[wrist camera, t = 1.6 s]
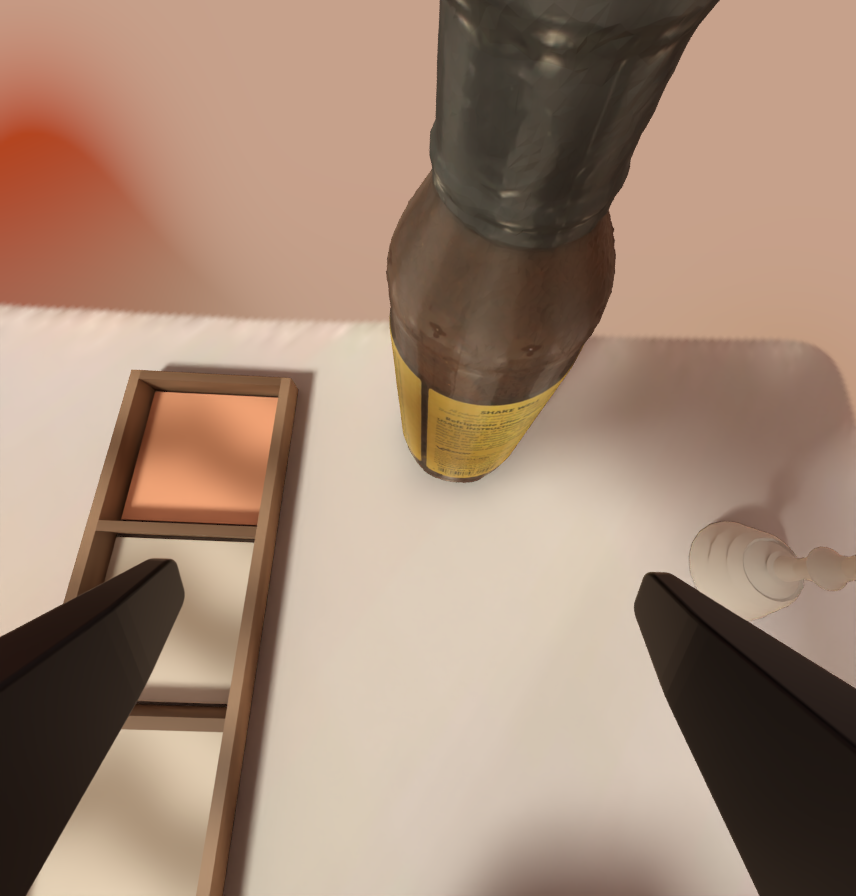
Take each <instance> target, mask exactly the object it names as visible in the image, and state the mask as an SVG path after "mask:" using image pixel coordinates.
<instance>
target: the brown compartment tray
mask: <svg viewBox="0 0 856 896" xmlns="http://www.w3.org/2000/svg"><path fill="white" fill-rule="evenodd" d="M156 391H176V392H196V393H215V394H235V395H255V396H275V397H278V398H272V397H253V396H233V395H213V394H193V393H174V392H156ZM297 395H298V389H297V387H296V385H295V384H294V382H293V381H292V379H291V378H283V377H264V376H244V375H225V374H206V373H187V372H167V371H148V370H131V374H130V377H129V380H128V384H127V387H126V391H125V394H124V398H123V401H122V404H121V408H120V411H119V415H118V418H117V422H116V425H115V428H114V432H113V435H112V439H111V442H110V445H109V449H108V452H107V456H106V459H105V463H104V466H103V469H102V473H101V476H100V480H99V483H98V487H97V490H96V493H95V497H94V500H93V504H92V507H91V510H90V514H89V517H88V521H87V524H86V528H85V531H84V534H83V538H82V541H81V545H80V548H79V552H78V555H77V558H76V562H75V565H74V569H73V572H72V575H71V579H70V582H69V586H68V589H67V593H66V596H65V599H64V603H66V602H68V601H70V600H71V599H73V598H75V597H77V596H79V595H81V594H83V593H85V592H87V591H89V590H90V589H92V588H94V587H96V586H98V585H100V584H102V583H104V582H106V581H108V580H109V579H111V578H113V577H115V576H117V575H119V574H121V573H123V572H125V571H126V570H128V569H130V568H132V567H134V566H136V565H138V564H140V563H142V562H144V561H145V560H148V559H151V558H168V559H173V560H174V561H175V562H176V563H177V565H178V569H179V572H180V576H181V579H182V583H183V587H184V590H185V599H184V603H183V606H182V608H181V610H180V612H179V615H178V617H177V619H176V621H175V623H174V626H173V628H172V630H171V632H170V634H169V637H168V639H167V641H166V643H165V645H164V648H163V650H162V652H161V654H160V656H159V659H158V661H157V663H156V665H155V667H154V670H153V672H152V674H151V676H150V678H149V680H148V682H147V684H146V686H145V688H144V690H143V692H142V693H141V695H140V697H139V699H138V701H149V702H180V703H212V704H228V705H227V707H218V706H186V705H154V704H135V706H134V708H133V710H132V711H131V713H130V715H129V717H128V718H127V720H126V722H125V724H124V725H123V727H122V729H121V731H120V732H119V734H118V736H117V738H116V739H115V741H114V743H113V745H112V746H111V748H110V750H109V752H108V753H107V755H106V757H105V759H104V760H103V762H102V764H101V766H100V767H99V769H98V771H97V773H96V774H95V776H94V778H93V780H92V781H91V783H90V785H89V787H88V788H87V790H86V792H85V794H84V795H83V797H82V799H81V801H80V802H79V804H78V806H77V808H76V809H75V811H74V813H73V815H72V816H71V818H70V820H69V822H68V823H67V825H66V827H65V829H64V830H63V832H62V834H61V836H60V837H59V839H58V841H57V843H56V844H55V846H54V848H53V850H52V851H51V853H50V855H49V857H48V858H47V860H46V862H45V864H44V865H43V867H42V869H41V871H40V872H39V874H38V876H37V878H36V879H35V881H34V883H33V885H32V886H31V888H30V890H29V892H28V893H27V895H26V896H223V889H224V883H225V876H226V869H227V863H228V856H229V849H230V843H231V836H232V829H233V823H234V816H235V809H236V802H237V796H238V789H239V782H240V776H241V769H242V762H243V756H244V749H245V742H246V736H247V729H248V722H249V716H250V709H251V702H252V696H253V689H254V682H255V675H256V669H257V662H258V655H259V649H260V642H261V635H262V629H263V622H264V615H265V609H266V602H267V595H268V589H269V582H270V575H271V569H272V562H273V555H274V548H275V542H276V535H277V528H278V522H279V515H280V508H281V502H282V495H283V488H284V482H285V475H286V468H287V462H288V455H289V448H290V442H291V435H292V428H293V421H294V415H295V408H296V401H297ZM121 519H123V520H140V521H164V522H187V523H211V524H234V525H257V527H250V526H227V525H203V524H180V523H157V522H133V521H121ZM118 533H121V534H145V535H169V536H193V537H217V538H241V539H255V541H254V543H249V542H225V541H201V540H177V539H153V538H129V537H117V534H118ZM64 603H63V604H64Z"/></svg>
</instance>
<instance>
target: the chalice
mask: <svg viewBox="0 0 856 896" xmlns="http://www.w3.org/2000/svg"><path fill="white" fill-rule="evenodd" d="M689 561H690V572H691V575H692V577H693V580H694V583H695V585H696V588H697V589H698V591H700V592H701V593H703V594H705V595H706V596H708V597H709V598H711V599H713V600H714V601H716V602H717V603H719V604H721V605H722V606H724V607H725V608H727V609H729V610H730V611H732V612H733V613H735V614H737V615H738V616H740V617H741V618H743V619H745V620H747V621H751V620H755V619H759V618H763V617H765V616H766V615H768V614H769V613H773V612H776V611H778V610H779V609H781V608H785V607H788V606H789V605H790V604H791V603H793V602H794V601H795V600H796V599H797V597H798V596H799V594H800V592H801V590H802V588H803V585H804V579H805V580H809V581H813V582H814V583H815V584H817V585H818V586H819V587H821V588H822V589H825V590H827V591H838V590H841V589H842V588H843V587H845V586H846V584H847V582H850V581H853V580H855V581H856V555H854V556H851V557H847V556H842V555H840V554H839V553H837V552H836V551H834V550H833V549H830V548H827V547H818V548H815V549H813V550H812V551H811V552H810V553H809V555H808V557H804V558H801V559H799V558H798V557H797V556H796V555H795V554H794V552H793V551H792V550H791V549H790V548H789V547H788V546H787V544H785V543H784V542H783V541H781V540H780V539H779V538H777V537H776V536H774V535H771V534H769V533H766V532H762V531H759V530H757V529H754V528H752V527H747V526H745V525H742V524H740V523H737V522H727V521H722V522H718V523H714V524H710V525H709V526H707V527H706V528H704V529H703V530H701V531H700V532H699V533H698V535H697V537H696V538H695V540H694V541H693V543H692V546H691V551H690V555H689Z"/></svg>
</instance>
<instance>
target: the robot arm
mask: <svg viewBox="0 0 856 896" xmlns="http://www.w3.org/2000/svg"><path fill="white" fill-rule="evenodd" d="M184 599H185V590H184V587H183V583H182V579H181V576H180V572H179V569H178V565H177V563H176V562H175V561H174V560H173V559H168V558H151V559H148V560H145V561H144V562H142V563H140V564H138V565H136V566H134V567H132V568H130V569H128V570H126V571H125V572H123V573H121V574H119V575H117V576H115V577H113V578H111V579H109V580H108V581H106V582H104V583H102V584H100V585H98V586H96V587H94V588H92V589H90V590H89V591H87V592H85V593H83V594H81V595H79V596H77V597H75V598H73V599H71V600H70V601H68V602H66V603H64V604H62V605H60V606H58V607H56V608H54V609H53V610H51V611H49V612H47V613H45V614H43V615H41V616H39V617H37V618H35V619H34V620H32V621H30V622H28V623H26V624H24V625H22V626H20V627H18V628H16V629H15V630H13V631H11V632H9V633H7V634H5V635H3V636H1V637H0V896H26V895H27V893H28V892H29V890H30V888H31V886H32V885H33V883H34V881H35V879H36V878H37V876H38V874H39V872H40V871H41V869H42V867H43V865H44V864H45V862H46V860H47V858H48V857H49V855H50V853H51V851H52V850H53V848H54V846H55V844H56V843H57V841H58V839H59V837H60V836H61V834H62V832H63V830H64V829H65V827H66V825H67V823H68V822H69V820H70V818H71V816H72V815H73V813H74V811H75V809H76V808H77V806H78V804H79V802H80V801H81V799H82V797H83V795H84V794H85V792H86V790H87V788H88V787H89V785H90V783H91V781H92V780H93V778H94V776H95V774H96V773H97V771H98V769H99V767H100V766H101V764H102V762H103V760H104V759H105V757H106V755H107V753H108V752H109V750H110V748H111V746H112V745H113V743H114V741H115V739H116V738H117V736H118V734H119V732H120V731H121V729H122V727H123V725H124V724H125V722H126V720H127V718H128V717H129V715H130V713H131V711H132V710H133V708H134V706H135V704H136V703H137V701H138V699H139V697H140V695H141V693H142V692H143V690H144V688H145V686H146V684H147V682H148V680H149V678H150V676H151V674H152V672H153V670H154V667H155V665H156V663H157V661H158V659H159V656H160V654H161V652H162V650H163V648H164V645H165V643H166V641H167V639H168V637H169V634H170V632H171V630H172V628H173V626H174V623H175V621H176V619H177V617H178V615H179V612H180V610H181V608H182V606H183V603H184ZM634 612H635V616H636V619H637V622H638V625H639V627H640V630H641V633H642V636H643V638H644V641H645V644H646V647H647V649H648V652H649V655H650V658H651V660H652V663H653V666H654V668H655V671H656V674H657V677H658V679H659V682H660V685H661V687H662V690H663V692H664V695H665V697H666V699H667V701H668V704H669V706H670V708H671V710H672V713H673V715H674V717H675V719H676V721H677V723H678V725H679V727H680V729H681V731H682V734H683V736H684V738H685V740H686V742H687V744H688V746H689V748H690V750H691V753H692V755H693V757H694V759H695V761H696V763H697V765H698V767H699V769H700V771H701V774H702V776H703V778H704V780H705V782H706V784H707V786H708V788H709V790H710V793H711V795H712V797H713V799H714V801H715V803H716V805H717V807H718V809H719V811H720V814H721V816H722V818H723V820H724V822H725V824H726V826H727V828H728V830H729V833H730V835H731V837H732V839H733V841H734V843H735V845H736V847H737V849H738V851H739V854H740V856H741V858H742V860H743V862H744V864H745V866H746V868H747V870H748V873H749V875H750V877H751V879H752V881H753V883H754V885H755V887H756V889H757V891H758V894H759V896H856V689H855V688H854V687H852V686H851V685H849V684H847V683H846V682H844V681H843V680H841V679H839V678H838V677H836V676H835V675H833V674H831V673H830V672H828V671H827V670H825V669H823V668H822V667H820V666H819V665H817V664H815V663H814V662H812V661H811V660H809V659H807V658H806V657H804V656H802V655H801V654H799V653H798V652H796V651H794V650H793V649H791V648H790V647H788V646H786V645H785V644H783V643H782V642H780V641H778V640H777V639H775V638H774V637H772V636H770V635H769V634H767V633H766V632H764V631H762V630H761V629H759V628H758V627H756V626H754V625H753V624H751V623H749V622H748V621H746V620H745V619H743V618H741V617H740V616H738V615H737V614H735V613H733V612H732V611H730V610H729V609H727V608H725V607H724V606H722V605H721V604H719V603H717V602H716V601H714V600H713V599H711V598H709V597H708V596H706V595H705V594H703V593H701V592H700V591H698V590H696V589H695V588H693V587H692V586H690V585H688V584H687V583H685V582H684V581H682V580H680V579H679V578H677V577H676V576H674V575H672V574H670V573H666V572H649V573H647V574H645V575H644V577H643V580H642V583H641V586H640V588H639V591H638V594H637V597H636V600H635V603H634Z"/></svg>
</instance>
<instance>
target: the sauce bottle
mask: <svg viewBox="0 0 856 896" xmlns="http://www.w3.org/2000/svg"><path fill="white" fill-rule="evenodd" d="M718 1H719V0H440V12H439V13H440V14H439V33H438V55H437V92H436V93H437V94H436V95H437V96H436V120H435V122H434V124H433V127H432V129H431V131H430V159H431V163H432V170H431V171H430V173H429V174H428V176H427V177H426V178H425V180H424V181H423V183H422V184H421V185H420V187H419V188H418V189H417V191H416V192H415V194H414V196H413V197H412V198H411V199H410V201H409V202H408V205H407V207H406V209H405V210H404V212H403V214H402V216H401V218H400V220H399V222H398V224H397V227H396V229H395V231H394V234H393V236H392V239H391V243H390V248H389V252H388V257H387V271H386V274H387V281H388V287H389V298H390V305H391V308H390V333H391V341H392V349H393V357H394V365H395V373H396V382H397V389H398V396H399V404H400V411H401V420H402V427H403V433H404V437H405V440H406V442H407V444H408V448H409V450H410V452H411V454H412V455H413V457H414V458H415V460H416V462H417V463H418V464H419V465H420V466H421V467H422V468H423V470H424V471H425V472H427V473H428V474H430V475H432V476H434V477H435V478H440V479H442V480H446V481H450V482H463V483H466V482H474V481H477V480H479V479H481V478H482V477H484V476H485V475H487V474H489V473H491V472H492V471H493V470H495V469H496V468H497V467H498V466H499V465H500V464H501V463H503V462H504V461H505V460H506V459H507V458H508V457H509V455H510V454H511V453H512V451H513V450H514V448H515V447H516V446H517V444H518V443H519V441H520V440H521V438H522V437H523V436H524V434H525V433H526V431H527V430H528V428H529V427H530V426H531V424H532V423H533V421H534V420H535V418H536V417H537V416H538V414H539V413H540V411H541V410H542V409H543V407H544V406H545V404H546V403H547V402H548V400H549V399H550V398H551V396H552V395H553V393H554V392H555V390H556V389H557V388H558V386H559V385H560V383H561V382H562V381H563V379H564V378H565V376H566V375H567V373H568V372H569V371H570V369H571V368H572V366H573V364H574V363H575V361H576V359H577V357H578V355H579V353H580V351H581V349H582V348H583V346H584V344H585V342H586V341H587V340H588V338H589V337H590V336H591V335H592V333H593V331H594V329H595V328H596V326H597V324H598V323H599V322H600V319H601V317H602V314H603V312H604V309H605V307H606V304H607V302H608V299H609V297H610V294H611V292H612V287H613V280H614V274H615V259H616V254H615V249H614V241H615V240H614V236H613V231H614V228H613V226H612V222H611V219H610V214H609V207H610V205H611V203H612V201H613V200H614V197H615V196H616V194H617V193H618V192H619V190H620V189H621V188H622V186H623V184H624V182H625V180H626V178H627V175H628V172H629V168H630V160H631V157H632V155H633V152H634V150H635V148H636V145H637V144H638V141H639V139H640V136H641V134H642V132H643V131H644V129H645V128H646V126H647V124H648V123H649V121H650V119H651V117H652V115H653V114H654V112H655V110H656V107H657V105H658V102H659V100H660V98H661V96H662V93H663V91H664V89H665V87H666V85H667V83H668V81H669V79H670V78H671V76H672V74H673V73H674V71H675V68H676V66H677V64H678V62H679V60H680V58H681V55H682V53H683V51H684V49H685V48H686V45H687V44H688V42H689V40H690V38H691V37H692V35H693V33H694V32H695V30H696V29H697V27H698V26H699V24H700V23H701V22H702V20H703V19H704V18H705V17H706V16H707V15H708V13H709V12H710V11H711V10H712V9H713V8H714V6H715V5H716V4H717V3H718Z"/></svg>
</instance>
